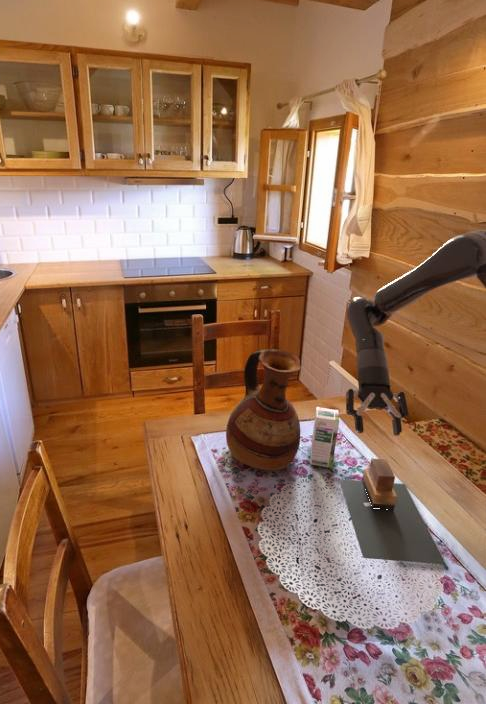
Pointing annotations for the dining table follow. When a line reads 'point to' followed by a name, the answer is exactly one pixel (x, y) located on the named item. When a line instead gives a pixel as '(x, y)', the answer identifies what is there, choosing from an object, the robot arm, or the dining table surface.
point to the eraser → (380, 484)
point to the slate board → (390, 527)
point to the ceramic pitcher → (266, 414)
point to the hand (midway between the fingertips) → (379, 433)
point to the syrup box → (324, 437)
